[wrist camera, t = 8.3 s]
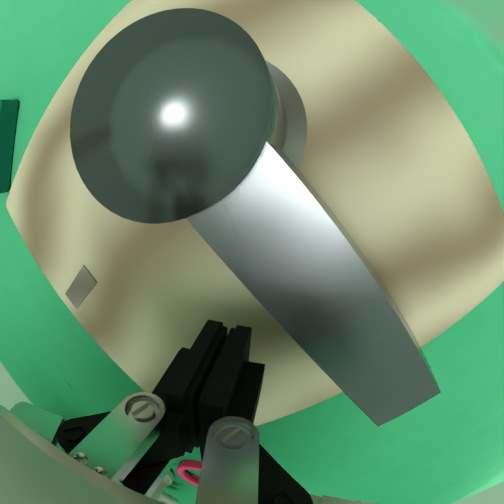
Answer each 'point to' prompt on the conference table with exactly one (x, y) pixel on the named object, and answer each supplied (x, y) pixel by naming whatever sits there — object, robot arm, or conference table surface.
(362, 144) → the board
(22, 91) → the conference table surface
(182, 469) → the fitness band
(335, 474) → the conference table surface
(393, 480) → the conference table surface
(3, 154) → the digital multimeter
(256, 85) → the lever
